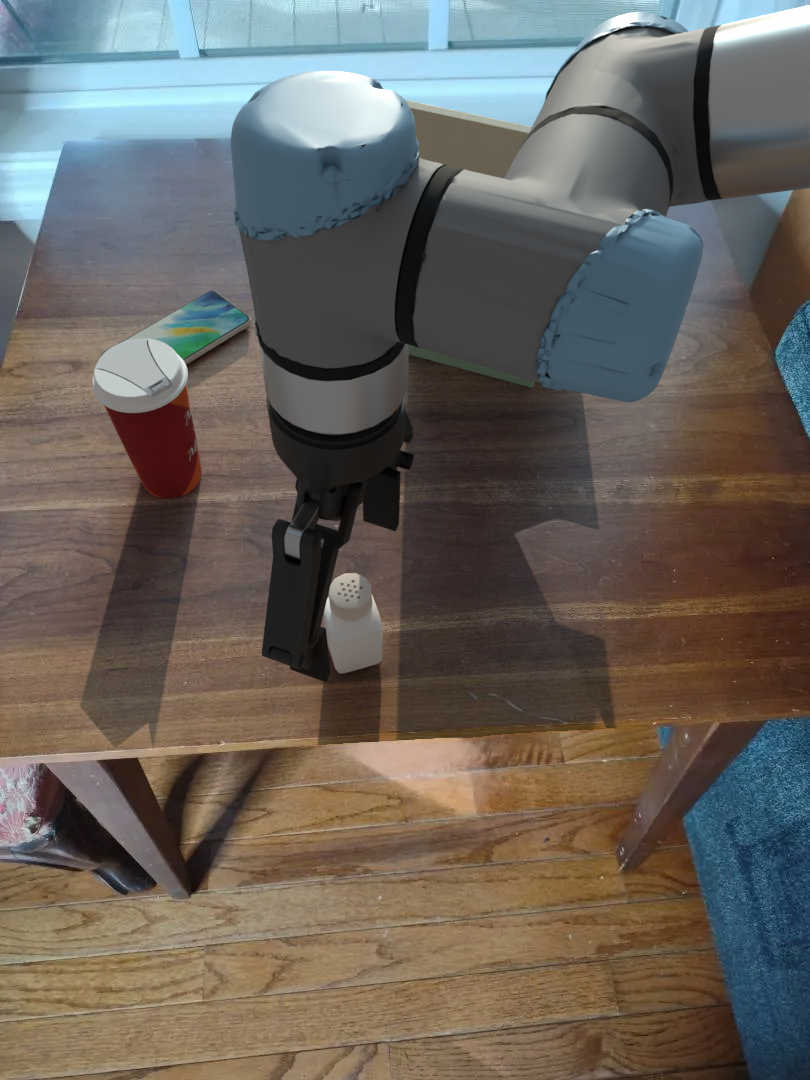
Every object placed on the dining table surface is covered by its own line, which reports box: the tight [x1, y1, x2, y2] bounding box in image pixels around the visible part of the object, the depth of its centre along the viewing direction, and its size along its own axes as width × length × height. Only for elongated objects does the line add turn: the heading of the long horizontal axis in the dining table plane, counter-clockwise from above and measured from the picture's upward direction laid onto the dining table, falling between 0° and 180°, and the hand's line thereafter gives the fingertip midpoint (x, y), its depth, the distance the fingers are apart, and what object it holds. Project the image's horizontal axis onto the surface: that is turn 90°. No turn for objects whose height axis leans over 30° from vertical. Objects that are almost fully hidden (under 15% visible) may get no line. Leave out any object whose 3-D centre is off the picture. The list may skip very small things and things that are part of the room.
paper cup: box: [91, 339, 202, 500], centre depth 75 cm, size 8×8×14 cm
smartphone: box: [99, 290, 252, 365], centre depth 91 cm, size 7×1×15 cm
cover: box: [404, 99, 532, 179], centre depth 72 cm, size 16×14×1 cm
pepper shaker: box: [322, 572, 383, 675], centre depth 67 cm, size 4×4×10 cm
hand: (347, 593), depth 64 cm, fingers open, 13 cm apart
